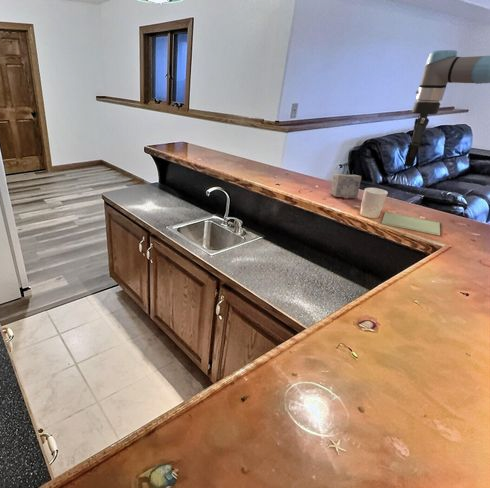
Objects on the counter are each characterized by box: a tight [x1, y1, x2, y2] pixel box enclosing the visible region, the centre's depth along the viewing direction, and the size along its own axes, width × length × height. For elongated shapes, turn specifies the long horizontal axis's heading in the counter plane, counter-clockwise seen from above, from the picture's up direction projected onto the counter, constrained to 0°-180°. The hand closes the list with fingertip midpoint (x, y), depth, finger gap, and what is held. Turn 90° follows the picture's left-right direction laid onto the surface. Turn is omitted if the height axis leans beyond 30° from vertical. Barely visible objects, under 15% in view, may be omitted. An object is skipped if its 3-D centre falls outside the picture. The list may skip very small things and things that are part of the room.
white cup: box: [359, 187, 389, 219], centre depth 136 cm, size 8×8×10 cm
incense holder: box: [329, 172, 362, 200], centre depth 156 cm, size 10×8×10 cm
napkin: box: [380, 211, 441, 237], centre depth 131 cm, size 18×14×1 cm
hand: (408, 162), depth 130 cm, fingers open, 13 cm apart
